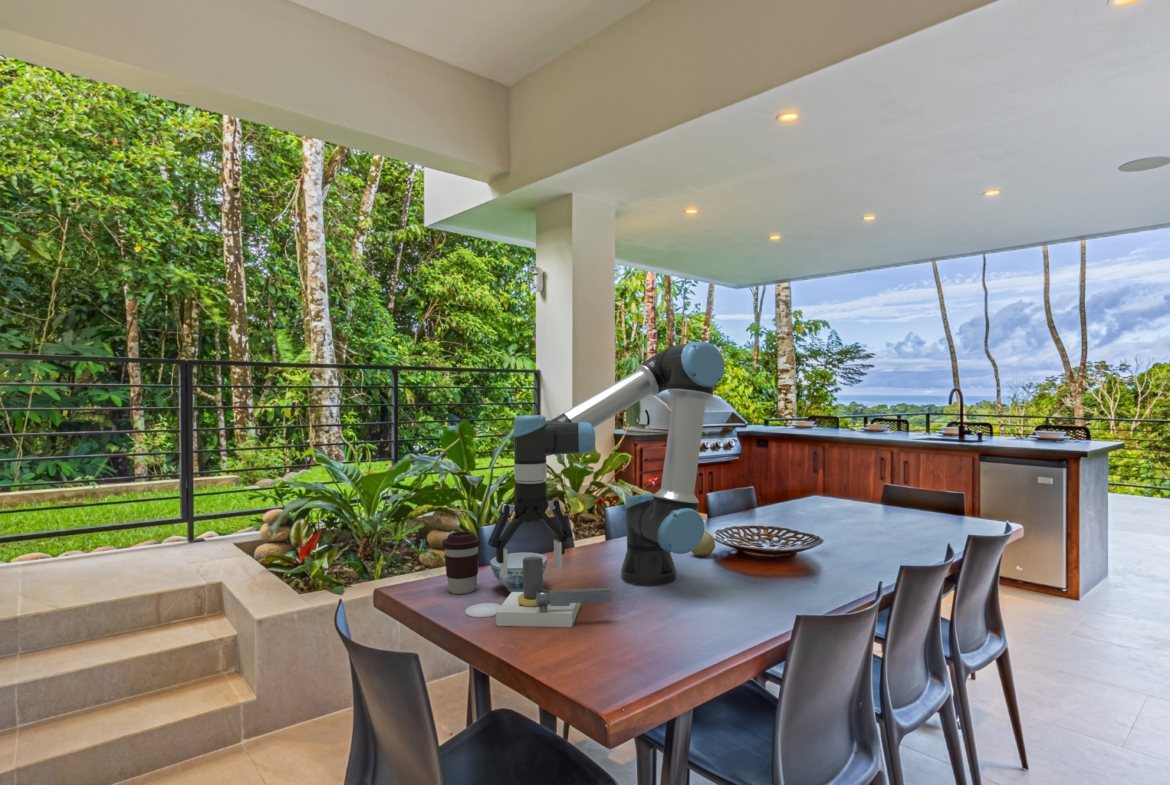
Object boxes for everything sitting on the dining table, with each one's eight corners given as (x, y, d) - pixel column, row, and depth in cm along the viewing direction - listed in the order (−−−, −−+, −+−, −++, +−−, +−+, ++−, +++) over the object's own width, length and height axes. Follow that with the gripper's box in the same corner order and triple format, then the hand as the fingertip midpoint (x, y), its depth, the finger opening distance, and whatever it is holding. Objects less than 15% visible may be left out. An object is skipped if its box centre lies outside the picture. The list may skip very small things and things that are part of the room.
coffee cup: (473, 597, 153) (471, 538, 154) (437, 595, 155) (435, 537, 156) (487, 585, 163) (485, 530, 163) (453, 584, 165) (451, 529, 165)
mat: (507, 604, 147) (507, 603, 147) (497, 618, 138) (497, 616, 138) (472, 604, 148) (472, 602, 148) (460, 617, 139) (459, 615, 139)
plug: (552, 609, 143) (550, 555, 143) (546, 621, 135) (544, 563, 136) (522, 609, 143) (521, 554, 144) (515, 620, 136) (513, 563, 136)
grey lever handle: (535, 606, 131) (535, 594, 131) (536, 601, 135) (535, 590, 135) (611, 602, 132) (610, 591, 133) (609, 597, 136) (609, 586, 136)
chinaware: (480, 595, 155) (479, 565, 155) (507, 578, 169) (506, 551, 169) (533, 600, 150) (532, 569, 150) (556, 582, 164) (555, 554, 164)
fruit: (688, 553, 191) (687, 528, 191) (714, 553, 190) (713, 528, 190) (688, 559, 184) (688, 533, 184) (716, 559, 182) (715, 533, 182)
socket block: (580, 605, 145) (580, 587, 145) (571, 627, 131) (571, 607, 131) (512, 604, 147) (511, 586, 147) (496, 625, 133) (496, 605, 133)
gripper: (571, 475, 149) (572, 561, 149) (473, 483, 137) (474, 576, 137) (585, 479, 142) (586, 568, 142) (484, 487, 131) (485, 585, 130)
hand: (531, 572), depth 139 cm, fingers open, 13 cm apart
